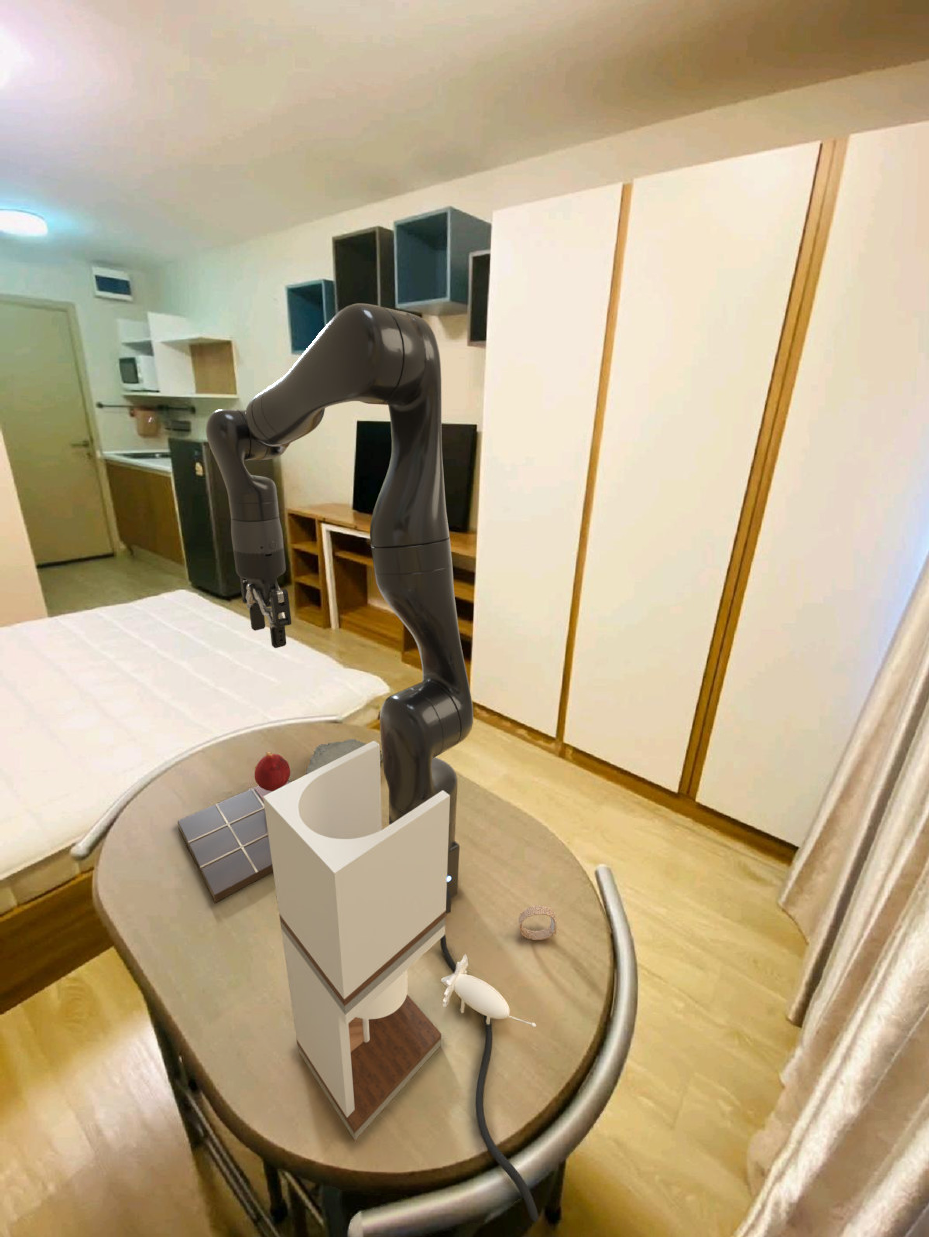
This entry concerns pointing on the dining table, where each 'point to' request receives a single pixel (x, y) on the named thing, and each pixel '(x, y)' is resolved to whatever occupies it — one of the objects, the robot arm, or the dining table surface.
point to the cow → (476, 994)
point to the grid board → (230, 842)
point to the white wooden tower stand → (357, 927)
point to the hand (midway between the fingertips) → (268, 637)
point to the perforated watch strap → (541, 934)
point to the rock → (332, 753)
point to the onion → (272, 772)
